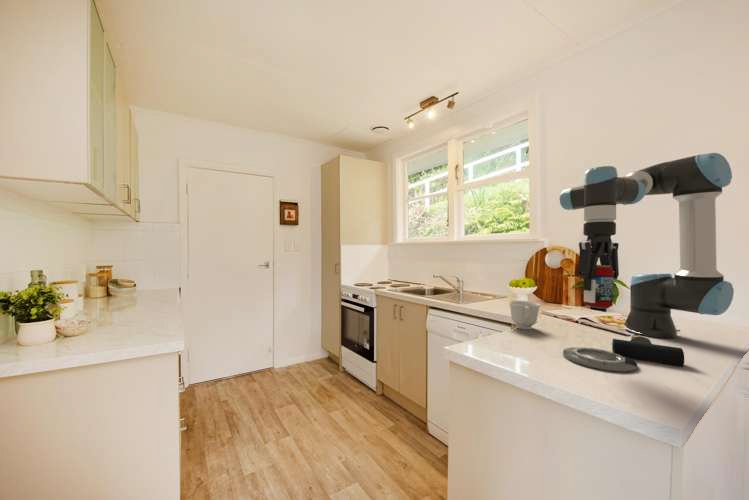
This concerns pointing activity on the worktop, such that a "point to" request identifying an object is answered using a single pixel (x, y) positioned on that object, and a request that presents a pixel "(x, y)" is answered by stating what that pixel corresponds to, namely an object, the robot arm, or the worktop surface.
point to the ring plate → (600, 359)
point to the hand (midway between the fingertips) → (598, 301)
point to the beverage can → (603, 287)
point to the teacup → (524, 313)
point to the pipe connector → (648, 351)
